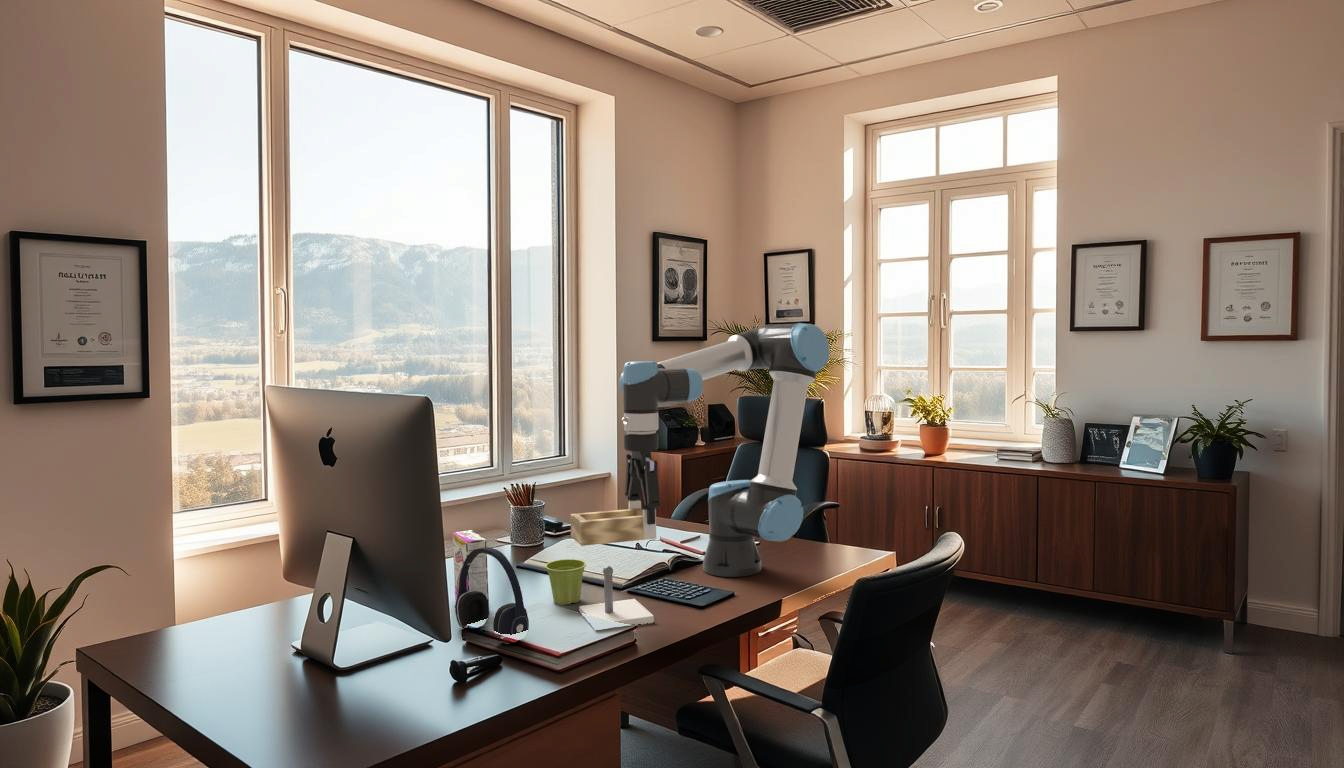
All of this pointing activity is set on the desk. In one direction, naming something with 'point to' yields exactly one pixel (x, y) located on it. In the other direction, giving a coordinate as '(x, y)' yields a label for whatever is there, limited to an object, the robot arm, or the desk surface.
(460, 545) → the candy bar box
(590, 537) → the wooden planter box
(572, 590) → the plant pot
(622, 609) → the peg stand
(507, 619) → the headphones
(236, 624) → the desk surface
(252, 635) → the desk surface
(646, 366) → the robot arm
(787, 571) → the desk surface
